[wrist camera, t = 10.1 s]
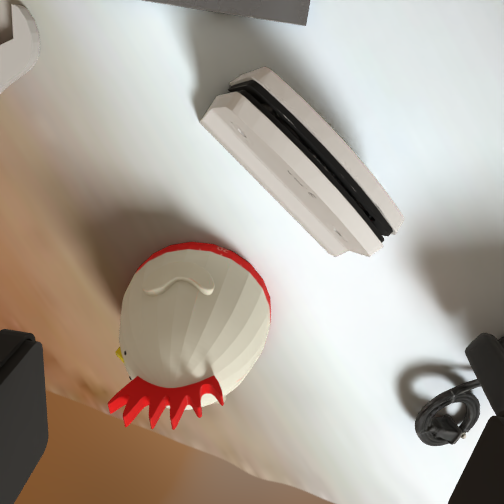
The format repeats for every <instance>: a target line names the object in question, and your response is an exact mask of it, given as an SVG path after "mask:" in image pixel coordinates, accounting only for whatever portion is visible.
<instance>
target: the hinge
mask: <svg viewBox="0 0 504 504" xmlns="http://www.w3.org/2000/svg"><path fill="white" fill-rule="evenodd" d="M229 84H230V86H231V87H230V88H229V89H228V90H229V91H230V92H231V93H226V94H222V95H218V96H216V98H215V99H214V101H213V102H212V104H211V106H210V107H209V109H208V110H207V112H206V113H205V115H204V116H203V118H202V119H201V121H200V122H199V123H200V124H201V125H202V126H203V127H204V128H205V129H206V130H207V131H208V132H209V133H210V134H211V135H212V136H213V137H214V138H215V139H216V140H217V141H218V142H219V143H220V144H221V145H222V146H223V147H224V148H225V149H226V150H227V151H228V152H229V153H230V154H231V155H232V156H233V157H234V158H235V159H236V160H237V161H238V162H239V163H240V164H241V165H242V166H243V167H244V168H245V169H246V170H247V171H248V172H249V173H250V174H251V175H252V176H253V177H254V178H255V179H256V180H257V181H258V182H259V183H260V184H261V185H262V186H263V187H264V188H265V189H266V190H267V191H268V192H269V193H270V194H271V195H272V196H273V198H274V199H275V200H276V201H277V202H278V203H279V204H280V205H281V206H282V207H283V208H284V209H285V210H286V211H287V212H288V213H289V214H290V215H291V216H292V217H293V218H294V219H295V220H296V221H297V222H298V223H299V224H300V225H301V226H302V227H303V228H304V229H305V230H306V231H307V232H308V233H309V234H310V235H311V236H312V237H313V238H314V239H315V240H316V241H317V242H318V243H319V244H320V245H321V246H322V247H323V248H324V249H325V250H326V251H327V252H328V253H329V254H331V255H332V256H334V257H337V256H339V255H341V254H343V253H345V252H347V251H352V252H355V253H358V254H361V255H365V256H368V257H370V256H371V255H373V254H374V253H375V252H377V251H378V250H380V249H381V248H382V247H383V245H382V242H383V241H384V238H383V236H382V235H384V236H389V235H390V234H396V233H397V231H398V230H399V228H400V226H401V225H402V223H403V221H404V217H403V215H402V214H401V212H400V211H399V209H398V207H397V206H396V205H395V203H394V202H393V200H392V199H391V198H390V196H389V195H388V193H387V192H386V191H385V190H384V188H383V187H382V186H381V184H380V183H379V182H378V181H377V179H376V178H375V177H374V175H373V174H372V173H371V172H370V170H369V169H368V168H367V167H366V166H365V164H364V163H363V162H362V161H361V160H360V159H359V157H358V156H357V155H356V154H355V153H354V152H353V150H352V149H351V148H350V147H349V146H348V145H347V144H346V143H345V142H344V140H343V139H342V138H341V137H340V136H339V135H338V134H337V133H336V132H335V131H334V130H333V129H332V128H331V126H330V125H329V124H328V123H327V122H326V121H325V120H324V119H323V118H322V117H321V116H320V115H319V114H318V113H317V112H316V111H315V110H314V109H313V108H312V107H311V106H310V105H309V104H308V103H307V102H306V101H305V100H304V99H303V98H302V97H301V96H300V95H299V94H298V93H296V92H295V91H294V90H293V89H292V88H291V87H290V86H289V85H288V84H287V83H286V82H285V81H283V80H282V79H281V78H280V77H279V76H278V75H277V74H276V73H275V72H273V71H272V70H271V69H269V68H267V67H262V68H259V69H256V70H253V71H250V72H248V73H245V74H242V75H240V76H239V77H237V78H236V79H234V80H233V81H231V82H230V83H229Z"/></svg>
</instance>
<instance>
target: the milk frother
mask: <svg viewBox="0 0 504 504" xmlns="http://www.w3.org/2000/svg"><path fill="white" fill-rule="evenodd" d="M465 354H466V356H467V358H468V361H469V362H470V365H471V366H472V368H473V371H474V373H475V375H476V377H477V379H476V380H472V381H469V382H467V383H464V384H462V385H459V386H456V387H454V388H452V389H450V390H447V391H445V392H443V393H441V394H439V395H438V396H436V397H435V398H434V399H432V400H431V401H429V402H428V403H427V404H426V405H425V406H424V407H423V408H422V409H421V411H420V412H419V413H418V415H417V418H416V421H415V430H416V433H417V435H418V437H419V438H420V440H421V441H422V442H423V443H425V444H427V445H430V446H441V445H445V444H448V443H450V444H455V443H456V442H457V441H458V440H459V438H460V437H461V438H462V439H464V438H465V437H466V435H465V433H466V432H468V431H469V430H470V429H471V428H472V427H473V426H474V424H475V423H476V421H477V420H478V418H479V415H480V404H479V401H478V399H477V398H476V396H474V395H473V394H472V393H470V392H469V390H471V389H474V388H476V387H479V386H481V387H482V388H483V391H484V393H485V395H486V397H487V399H488V400H489V402H490V405H491V407H492V409H493V410H494V412H495V414H496V416H497V415H498V413H499V412H501V411H502V410H504V337H503V338H501V339H500V340H499V341H498V340H497V339H496V338H495V337H494V336H493V335H490V334H487V333H482V334H481V335H479V336H478V337H477V338H476V339H475V340H473V341H472V342H471V343H470V344H469V346H468V347H467V348H466V350H465ZM455 402H463V403H465V404H466V406H467V413H466V416H465V418H464V420H463V422H462V423H461V425H460V426H459V427H458V426H457V424H456V423H455V422H454V421H453V419H452V418H451V417H449V416H448V415H444V416H443V417H437V418H433V416H434V414H435V413H436V412H437V411H439V410H441V409H442V408H444V407H445V406H447V405H449V404H451V403H455ZM432 418H433V419H432Z"/></svg>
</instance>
